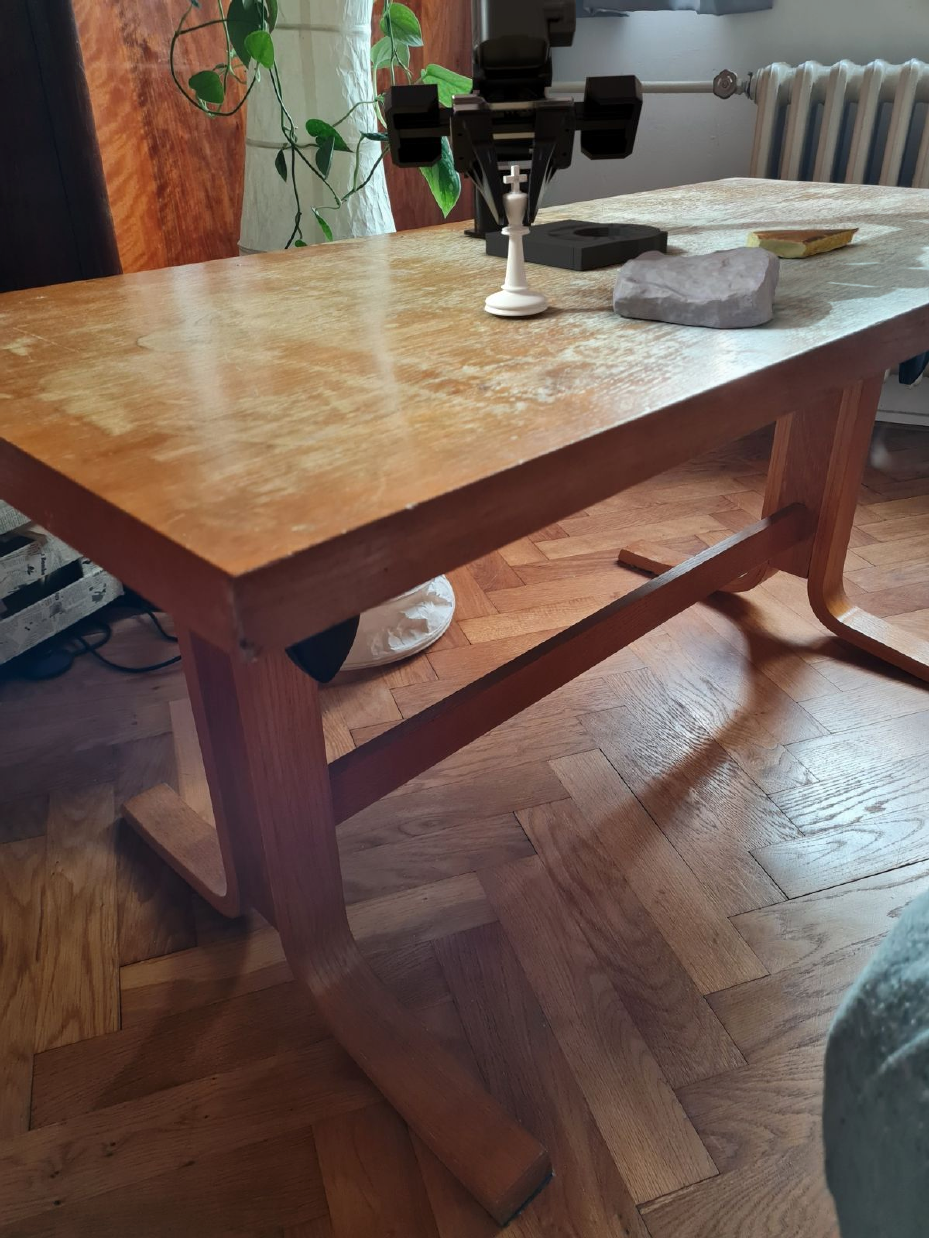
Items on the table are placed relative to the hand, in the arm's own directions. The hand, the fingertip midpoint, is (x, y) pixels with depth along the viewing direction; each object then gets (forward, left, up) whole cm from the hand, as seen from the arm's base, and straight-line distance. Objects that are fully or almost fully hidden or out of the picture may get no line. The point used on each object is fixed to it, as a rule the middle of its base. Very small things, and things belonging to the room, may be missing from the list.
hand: (515, 220), depth 65 cm
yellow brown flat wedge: (-1, +37, -7) cm, 37 cm away
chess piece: (-1, +1, -7) cm, 7 cm away
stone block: (+9, +10, -7) cm, 15 cm away
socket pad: (-16, +22, -7) cm, 28 cm away
